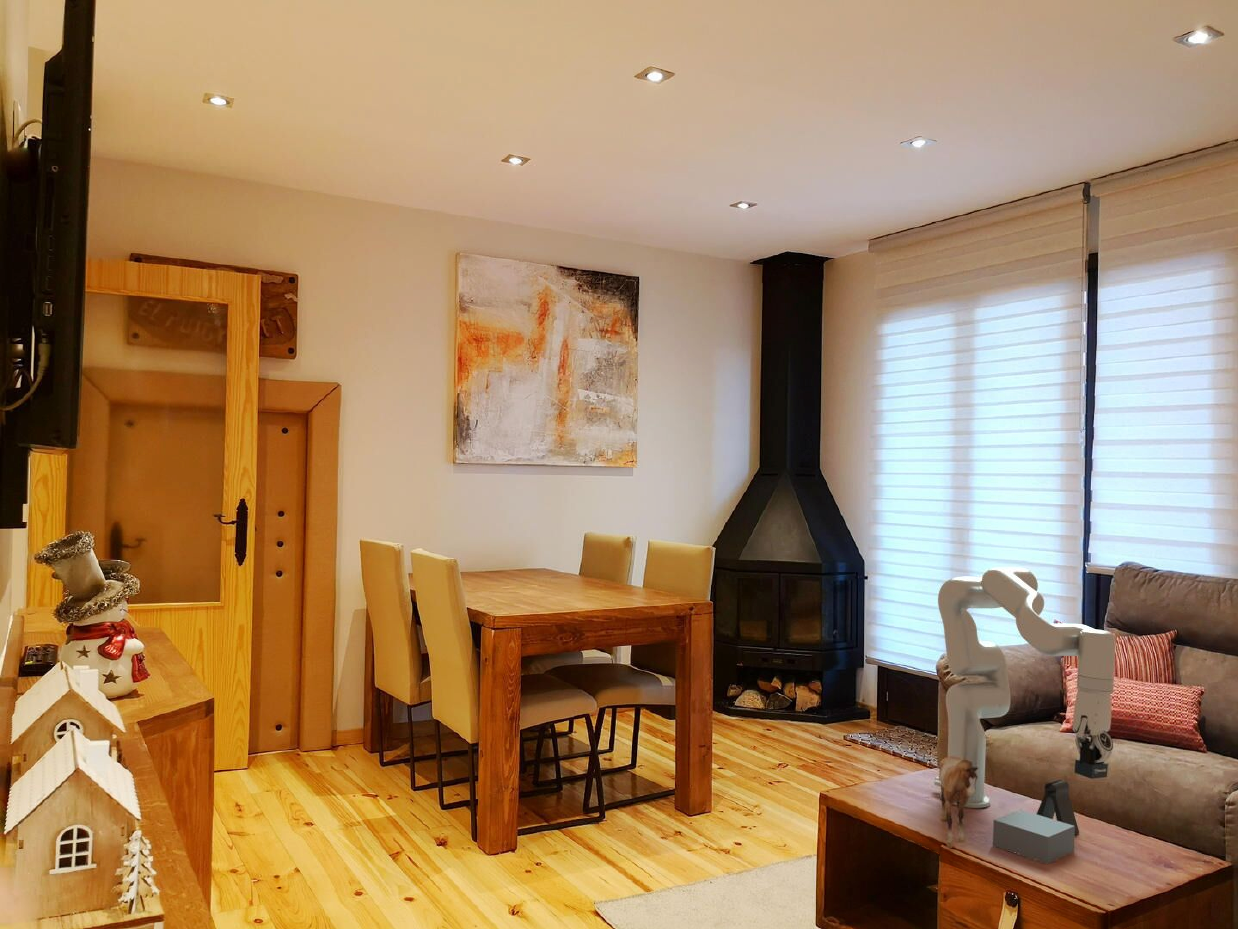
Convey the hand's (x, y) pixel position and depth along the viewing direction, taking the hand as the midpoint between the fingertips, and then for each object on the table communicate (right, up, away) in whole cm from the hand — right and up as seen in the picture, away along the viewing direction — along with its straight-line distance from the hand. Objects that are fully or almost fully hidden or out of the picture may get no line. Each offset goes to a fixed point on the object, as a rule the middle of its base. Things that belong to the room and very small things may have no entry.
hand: (1091, 763), depth 217 cm
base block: (-12, -21, +4) cm, 25 cm away
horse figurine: (-24, -21, +12) cm, 34 cm away
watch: (0, -3, 0) cm, 3 cm away
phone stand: (0, -22, +17) cm, 28 cm away
